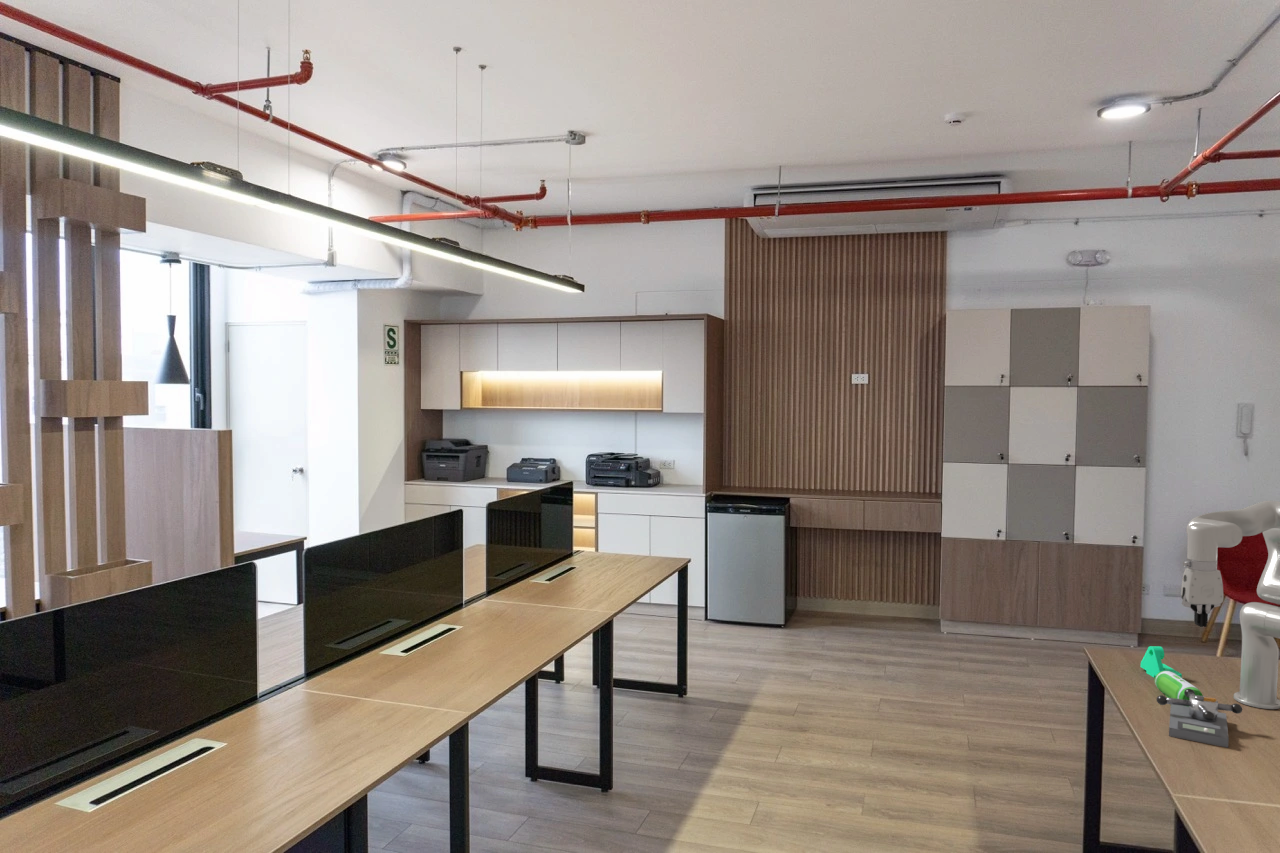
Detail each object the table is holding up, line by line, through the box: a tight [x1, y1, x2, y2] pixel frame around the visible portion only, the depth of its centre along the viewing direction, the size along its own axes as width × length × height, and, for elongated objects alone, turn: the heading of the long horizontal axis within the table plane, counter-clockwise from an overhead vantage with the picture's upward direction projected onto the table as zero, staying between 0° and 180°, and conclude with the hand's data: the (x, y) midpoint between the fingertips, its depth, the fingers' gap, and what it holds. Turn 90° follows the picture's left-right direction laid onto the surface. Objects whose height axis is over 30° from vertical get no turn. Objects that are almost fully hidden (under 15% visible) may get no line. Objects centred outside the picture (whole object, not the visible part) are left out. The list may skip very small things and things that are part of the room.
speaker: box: [1154, 671, 1204, 707], centre depth 273 cm, size 18×7×8 cm, turn 174°
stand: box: [1168, 704, 1229, 748], centre depth 251 cm, size 22×14×5 cm, turn 147°
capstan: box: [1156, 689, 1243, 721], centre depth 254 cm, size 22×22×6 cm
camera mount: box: [1139, 645, 1183, 679], centre depth 297 cm, size 12×8×10 cm, turn 179°
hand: (1200, 625), depth 258 cm, fingers closed
